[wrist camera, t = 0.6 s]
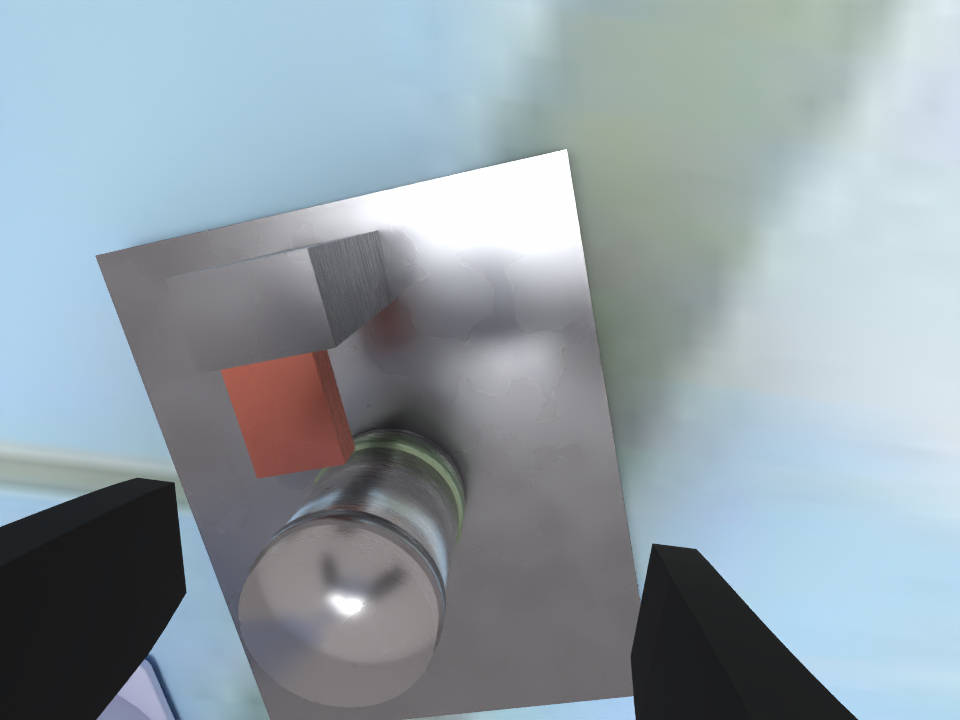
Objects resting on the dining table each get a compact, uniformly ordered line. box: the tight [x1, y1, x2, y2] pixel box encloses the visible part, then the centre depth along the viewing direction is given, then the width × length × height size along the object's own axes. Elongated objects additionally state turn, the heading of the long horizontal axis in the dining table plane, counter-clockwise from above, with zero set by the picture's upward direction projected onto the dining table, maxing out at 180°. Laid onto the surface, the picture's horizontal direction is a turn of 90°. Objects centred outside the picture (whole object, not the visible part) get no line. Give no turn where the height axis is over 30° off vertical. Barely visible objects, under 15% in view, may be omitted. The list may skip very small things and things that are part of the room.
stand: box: [96, 149, 641, 720], centre depth 17 cm, size 14×18×7 cm
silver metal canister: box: [238, 428, 465, 708], centre depth 16 cm, size 5×5×6 cm
